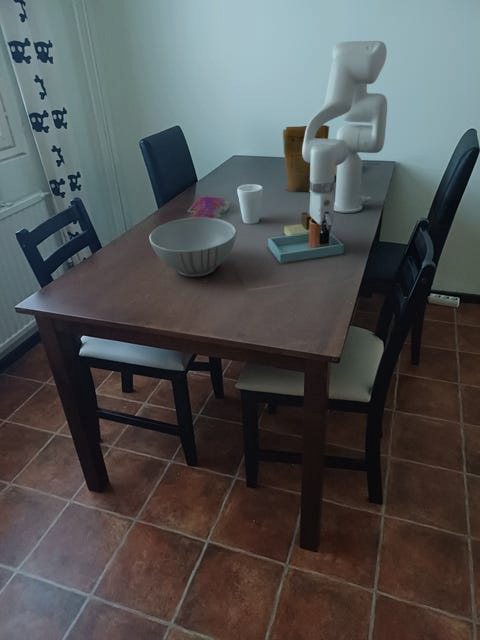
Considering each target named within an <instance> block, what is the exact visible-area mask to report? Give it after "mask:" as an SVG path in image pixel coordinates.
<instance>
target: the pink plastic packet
mask: <svg viewBox="0 0 480 640" xmlns="http://www.w3.org/2000/svg"><path fill="white" fill-rule="evenodd" d="M228 201H229V200H228V198H227V197H214V196H213V197H212V196H200V197H199V198H198V199H197V200H196V201H195V202H194V203H193V204H192V206H190V208H188V209H187V213H193V214H192V216H191V217H190V218H197V217H206V218H216V219H219V218H221V216H222V214H225V213H226V212H227V210H228V208H229V207H230V205H231V204H232V203H230V202H228ZM221 212H222V214H220V213H221Z"/></svg>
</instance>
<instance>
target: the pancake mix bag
mask: <svg viewBox="0 0 480 640" xmlns="http://www.w3.org/2000/svg"><path fill="white" fill-rule="evenodd" d="M306 128H307V125H303V126H302V125H301V126H286V127H285V129H283V130H282V140H283V141H282V142H283V143H282V145H283V154H284V163H285V170H286V171H285V174H286V181H287V185H286V190H287V191H289V192H294V193H299V192H300V193H311V192H310V163H308V162H306V161H305V160H304V159H303V155H302V148H303V142H304V136H305V131H306ZM329 133H330V126H328V125H326V124H323V125H322V126H321V127H320V128H319V129H318V131H317V133H316V135H315V138H321V139H329Z"/></svg>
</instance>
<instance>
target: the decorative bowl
mask: <svg viewBox="0 0 480 640" xmlns="http://www.w3.org/2000/svg"><path fill="white" fill-rule="evenodd" d="M237 233H238V232H237V228H236V226H235V225H234V224H233V223H231V222H230V221H227V220H224V219H221V218H218V219H216V218H213V217H212V218H211V217H209V218H206V217H201V216H200V217H197V218H191V217H187V218H180V219H176V220H172V221H168V222H166V223H164V224H161V225H159V226H158V227H156V228H155V229H153V230H152V231H151V232H150V234H149V239H148V240H149V243H150V245H151V247H152V249H153V251H154V252H155V254H156V255H157V257H158V258H159V259H160V260H161V261H162V262H163V263H164V264H165V265H166V266H168V268H171V269H172V270H175V271H177V272H178V273H179V274H180V275H182V276H185V277H189V278H191V277H192V278H197V277H203V276H207V275H209V274H211V273H213V272H214V271H215V270H216V268H217V267H218V266H220V265H221V264H222V263H223V262H224V261H225V260H226V259H227V258H228V256H229V255H230V253H231V251H232V249H233V248H234V244H235V241H236V238H237Z"/></svg>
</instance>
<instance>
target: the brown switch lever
mask: <svg viewBox="0 0 480 640" xmlns="http://www.w3.org/2000/svg"><path fill="white" fill-rule="evenodd" d="M300 218H301V219H300V221H301V223H300V224H301V225H302V226H303V227H304V228H305V229H306V230H308V229H309V221H310V219H311V217H310V213H308V212H306V211H305V212H301V217H300Z"/></svg>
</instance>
